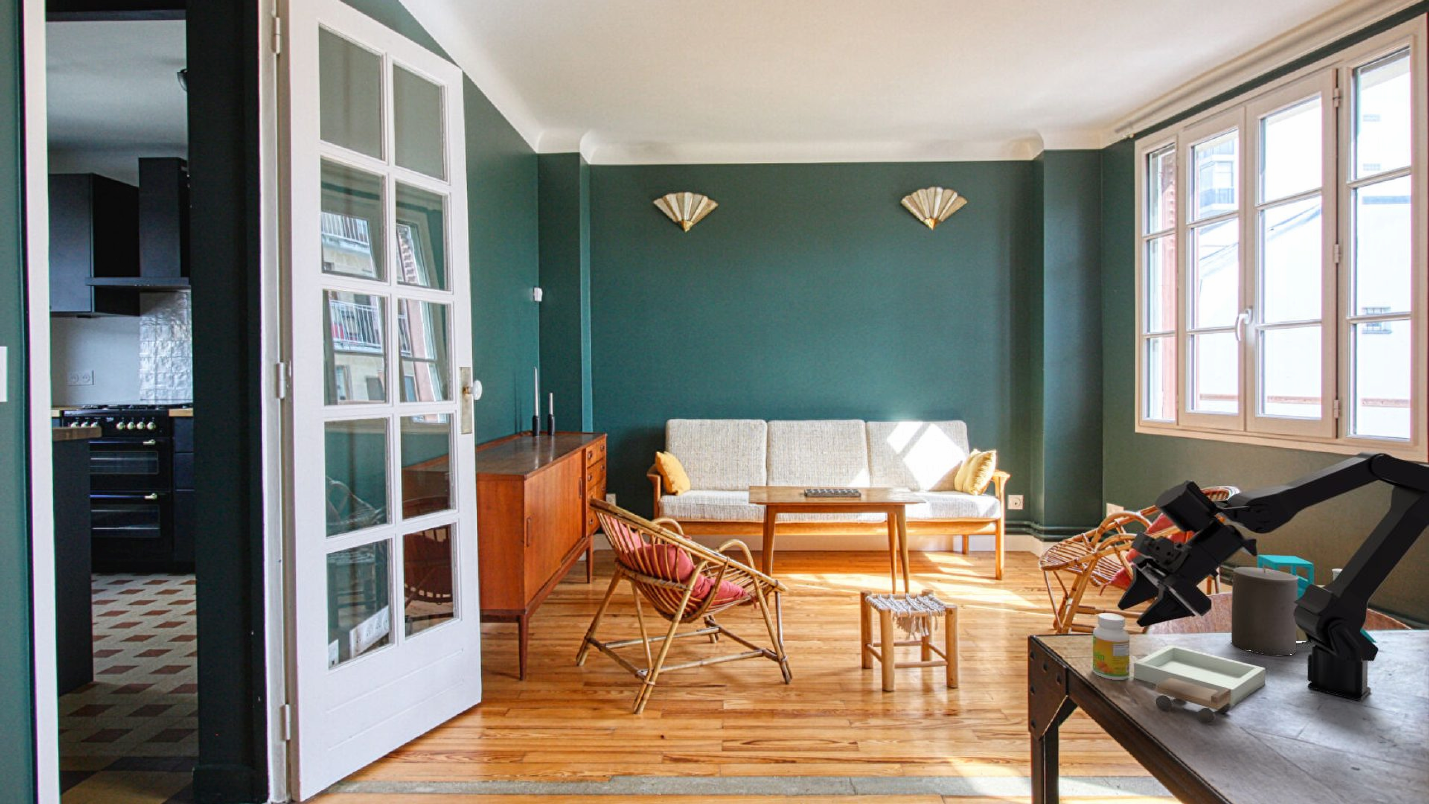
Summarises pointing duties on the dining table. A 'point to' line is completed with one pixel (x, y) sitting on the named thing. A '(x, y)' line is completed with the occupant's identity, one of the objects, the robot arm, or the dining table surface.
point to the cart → (1194, 698)
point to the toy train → (1302, 583)
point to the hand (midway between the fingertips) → (1128, 616)
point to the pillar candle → (1264, 610)
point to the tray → (1200, 671)
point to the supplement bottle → (1111, 647)
